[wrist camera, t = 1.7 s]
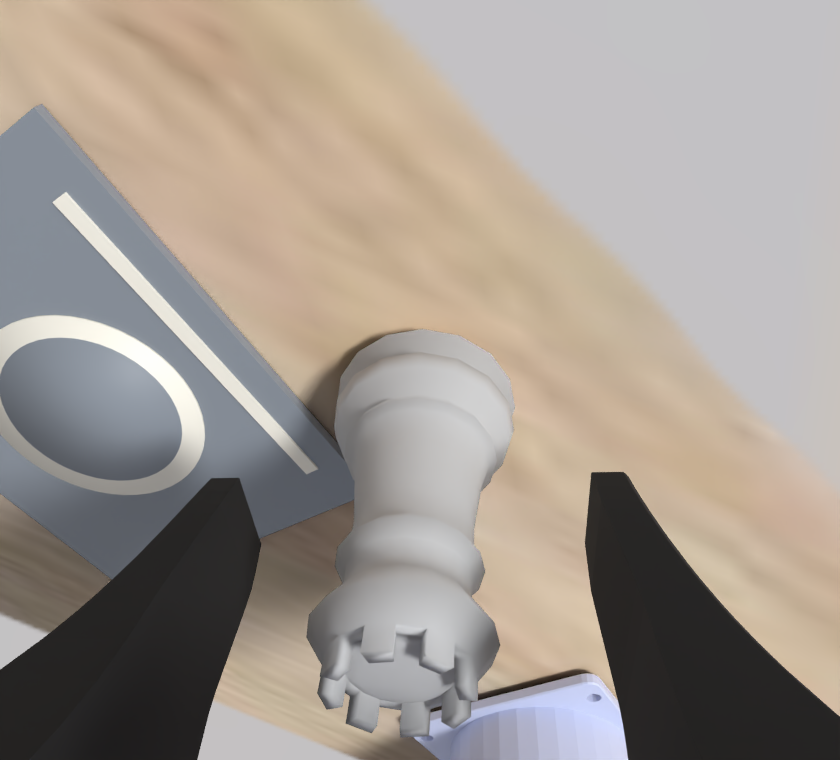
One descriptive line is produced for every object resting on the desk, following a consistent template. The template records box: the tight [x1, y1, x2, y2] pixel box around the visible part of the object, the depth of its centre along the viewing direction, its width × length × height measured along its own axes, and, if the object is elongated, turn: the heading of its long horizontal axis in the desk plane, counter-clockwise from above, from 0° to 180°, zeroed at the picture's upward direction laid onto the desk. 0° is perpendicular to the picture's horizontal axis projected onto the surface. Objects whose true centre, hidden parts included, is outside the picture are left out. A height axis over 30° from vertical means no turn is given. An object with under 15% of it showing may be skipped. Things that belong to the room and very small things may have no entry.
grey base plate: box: [0, 104, 355, 579], centre depth 17 cm, size 12×10×1 cm
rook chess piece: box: [307, 329, 515, 737], centre depth 13 cm, size 4×4×8 cm
